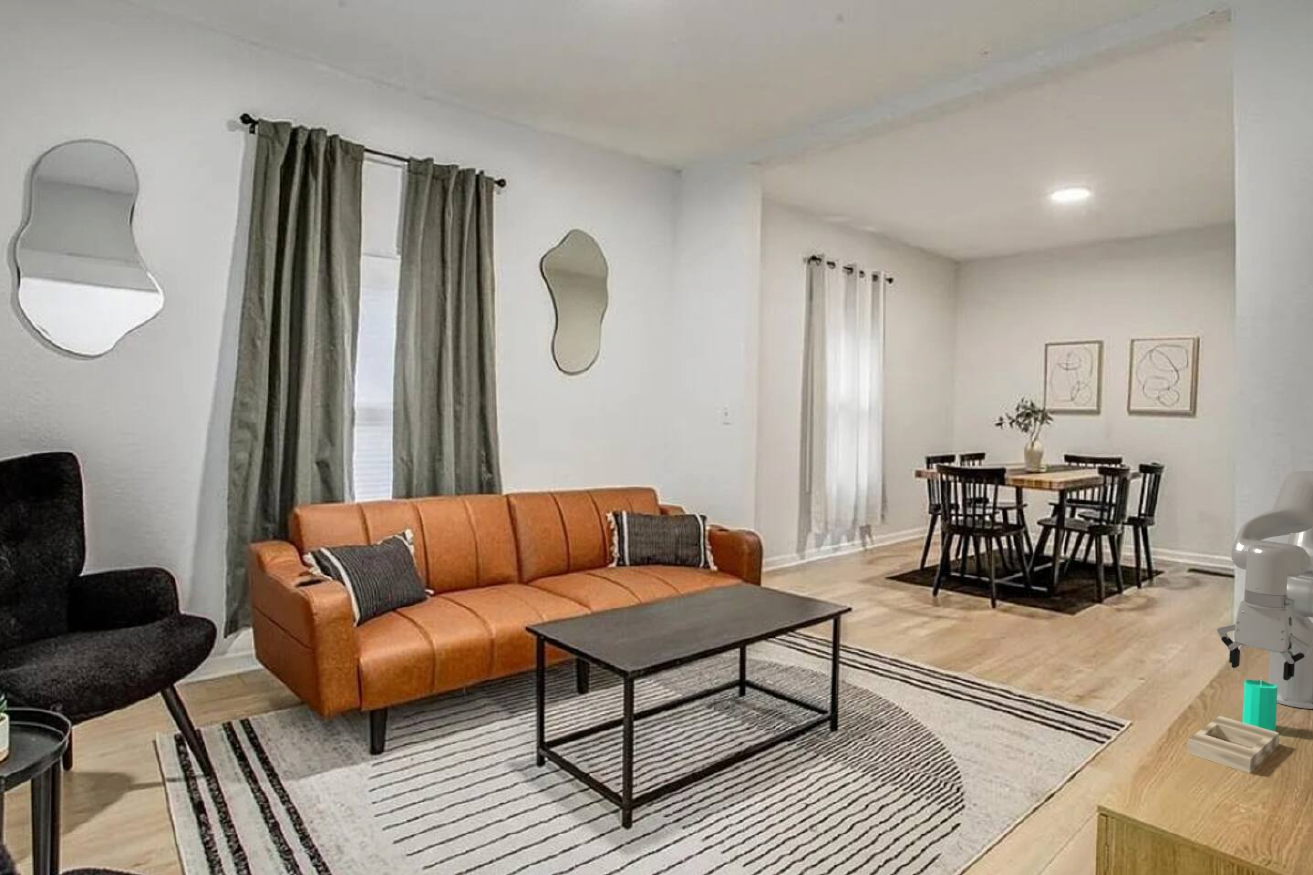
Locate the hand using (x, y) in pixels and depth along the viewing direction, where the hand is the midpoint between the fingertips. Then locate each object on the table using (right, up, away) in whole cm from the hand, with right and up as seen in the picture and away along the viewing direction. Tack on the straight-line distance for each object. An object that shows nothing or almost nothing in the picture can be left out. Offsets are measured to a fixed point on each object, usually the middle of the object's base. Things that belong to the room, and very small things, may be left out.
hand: (1260, 672), depth 175 cm
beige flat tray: (-14, -14, -10) cm, 22 cm away
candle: (+1, -13, +1) cm, 13 cm away
